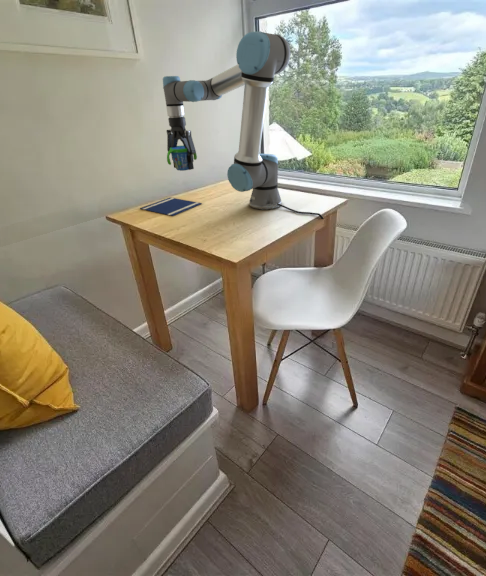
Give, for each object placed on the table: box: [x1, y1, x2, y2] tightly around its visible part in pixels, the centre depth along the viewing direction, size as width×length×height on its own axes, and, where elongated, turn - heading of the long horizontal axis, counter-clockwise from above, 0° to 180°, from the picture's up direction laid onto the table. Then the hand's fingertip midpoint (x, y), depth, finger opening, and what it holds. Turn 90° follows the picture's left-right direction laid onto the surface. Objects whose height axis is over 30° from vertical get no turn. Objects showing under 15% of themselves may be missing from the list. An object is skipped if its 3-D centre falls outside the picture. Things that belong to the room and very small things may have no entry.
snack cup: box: [166, 144, 198, 172], centre depth 156 cm, size 16×10×10 cm
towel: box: [139, 197, 203, 217], centre depth 158 cm, size 22×20×1 cm
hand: (183, 168), depth 158 cm, fingers closed on snack cup, 9 cm apart
